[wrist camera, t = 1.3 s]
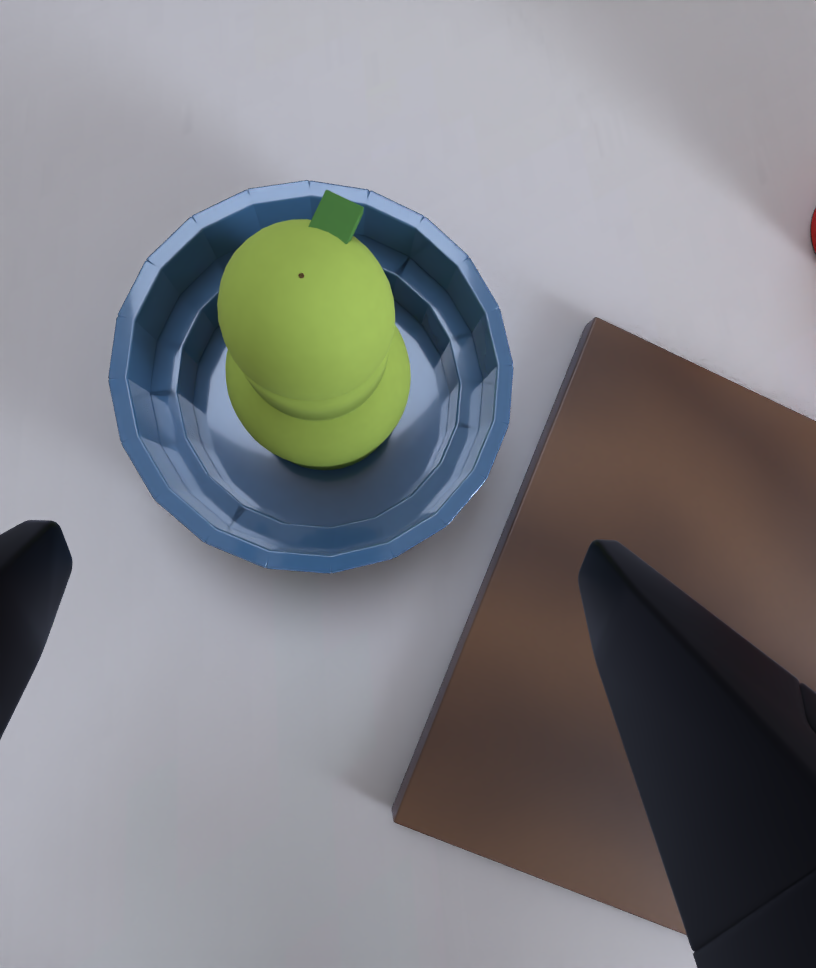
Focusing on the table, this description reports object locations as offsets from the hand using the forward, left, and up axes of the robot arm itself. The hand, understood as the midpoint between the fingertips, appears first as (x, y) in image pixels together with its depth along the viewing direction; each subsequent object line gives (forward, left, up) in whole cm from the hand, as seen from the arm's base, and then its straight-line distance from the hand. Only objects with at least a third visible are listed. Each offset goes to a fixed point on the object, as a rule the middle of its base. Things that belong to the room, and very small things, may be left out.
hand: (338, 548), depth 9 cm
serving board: (+2, -14, -13) cm, 19 cm away
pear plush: (+5, +3, -12) cm, 13 cm away
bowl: (+5, +3, -13) cm, 14 cm away
